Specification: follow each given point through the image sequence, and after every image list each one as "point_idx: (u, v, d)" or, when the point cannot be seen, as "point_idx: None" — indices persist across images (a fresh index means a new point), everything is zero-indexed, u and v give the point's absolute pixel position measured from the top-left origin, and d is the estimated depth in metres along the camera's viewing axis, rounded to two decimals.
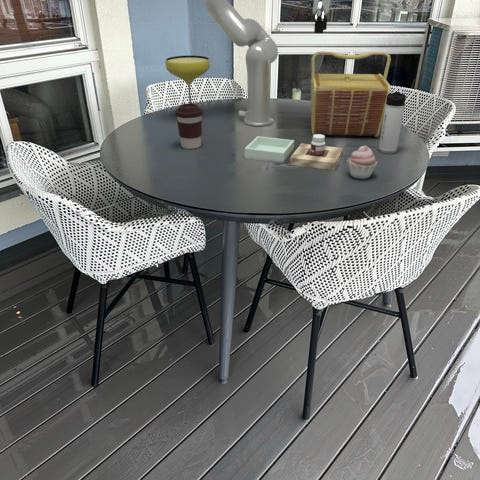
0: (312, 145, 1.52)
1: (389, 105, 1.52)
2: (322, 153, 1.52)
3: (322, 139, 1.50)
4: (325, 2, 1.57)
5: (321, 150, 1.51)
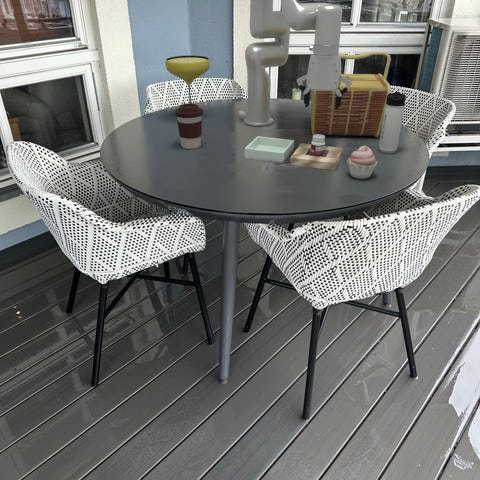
0: (312, 145, 1.52)
1: (389, 105, 1.52)
2: (322, 153, 1.52)
3: (322, 139, 1.50)
4: None
5: (321, 150, 1.51)
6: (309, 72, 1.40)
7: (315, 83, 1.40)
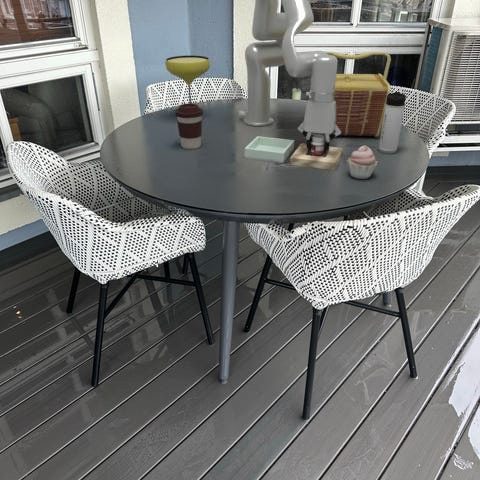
0: (312, 145, 1.52)
1: (389, 105, 1.52)
2: (322, 153, 1.52)
3: (322, 139, 1.50)
4: None
5: (321, 150, 1.51)
6: (306, 116, 1.47)
7: (311, 127, 1.48)
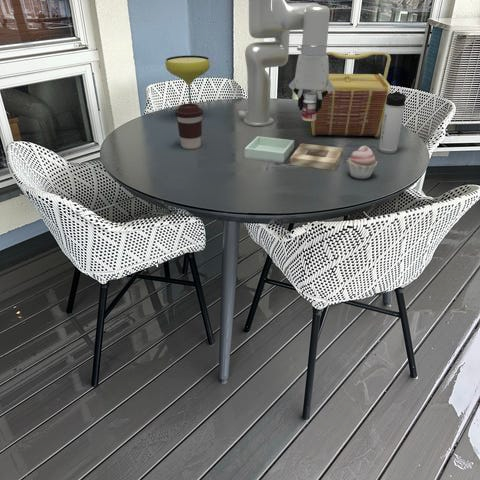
0: (304, 103, 1.46)
1: (389, 105, 1.52)
2: (314, 111, 1.47)
3: (314, 96, 1.44)
4: (328, 75, 1.42)
5: (313, 108, 1.46)
6: (297, 72, 1.41)
7: (303, 83, 1.42)
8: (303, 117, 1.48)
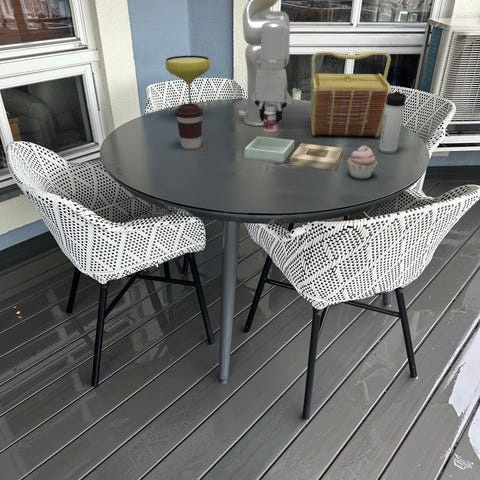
0: (264, 114, 1.52)
1: (389, 105, 1.52)
2: (275, 122, 1.53)
3: (274, 108, 1.51)
4: None
5: (273, 119, 1.52)
6: (257, 85, 1.47)
7: (262, 95, 1.48)
8: (264, 128, 1.55)
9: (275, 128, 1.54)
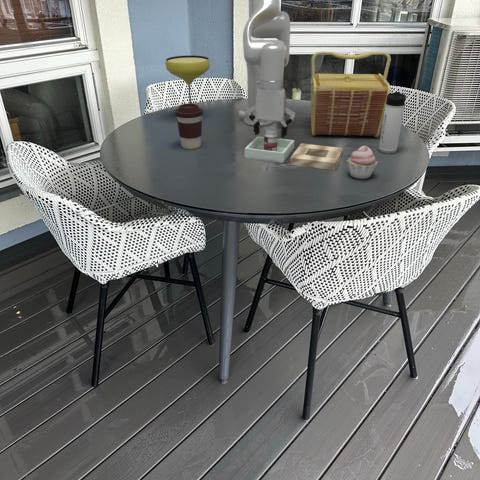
0: (265, 137, 1.57)
1: (389, 105, 1.52)
2: (274, 145, 1.57)
3: (274, 131, 1.55)
4: (286, 107, 1.52)
5: (273, 142, 1.56)
6: (256, 104, 1.51)
7: (262, 114, 1.51)
8: None
9: (275, 150, 1.59)
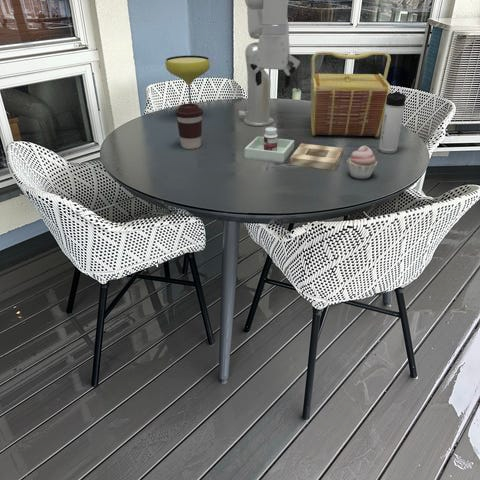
0: (264, 137, 1.57)
1: (389, 105, 1.52)
2: (274, 146, 1.57)
3: (273, 132, 1.55)
4: (289, 54, 1.45)
5: (272, 142, 1.56)
6: (258, 51, 1.44)
7: (264, 62, 1.45)
8: None
9: None
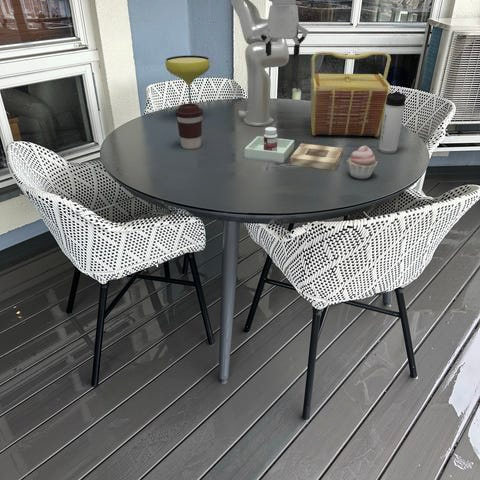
0: (264, 137, 1.57)
1: (389, 105, 1.52)
2: (274, 145, 1.57)
3: (273, 132, 1.55)
4: (298, 25, 1.52)
5: (272, 142, 1.56)
6: (269, 21, 1.51)
7: (274, 32, 1.52)
8: None
9: None
